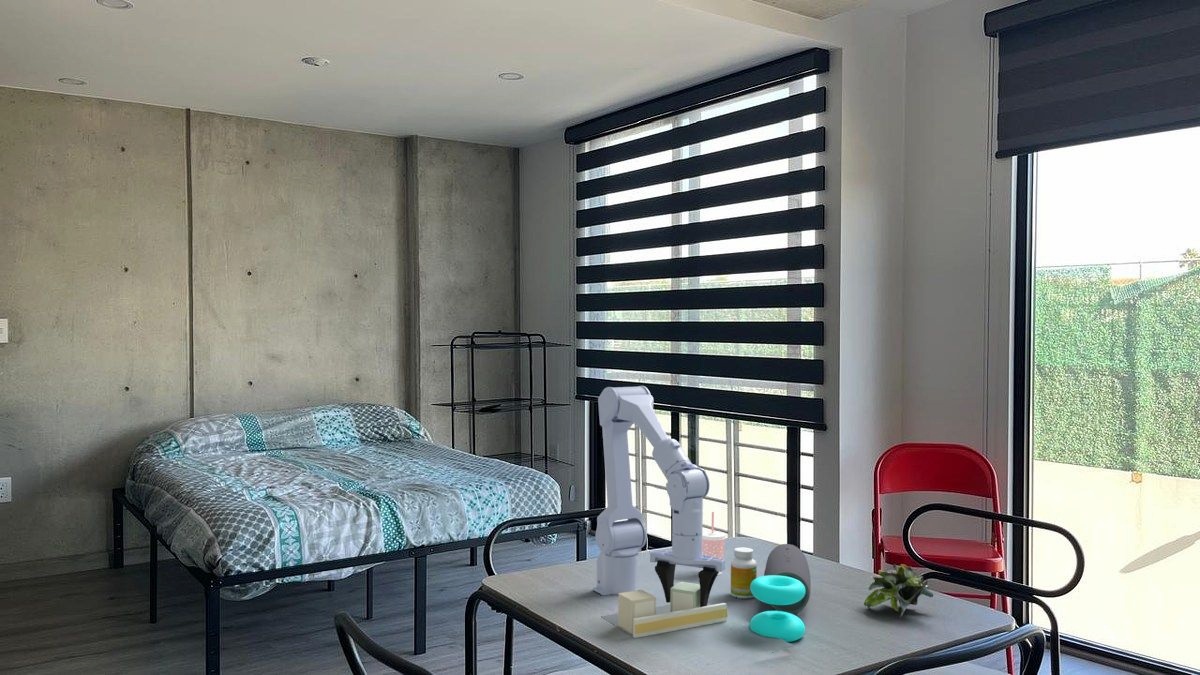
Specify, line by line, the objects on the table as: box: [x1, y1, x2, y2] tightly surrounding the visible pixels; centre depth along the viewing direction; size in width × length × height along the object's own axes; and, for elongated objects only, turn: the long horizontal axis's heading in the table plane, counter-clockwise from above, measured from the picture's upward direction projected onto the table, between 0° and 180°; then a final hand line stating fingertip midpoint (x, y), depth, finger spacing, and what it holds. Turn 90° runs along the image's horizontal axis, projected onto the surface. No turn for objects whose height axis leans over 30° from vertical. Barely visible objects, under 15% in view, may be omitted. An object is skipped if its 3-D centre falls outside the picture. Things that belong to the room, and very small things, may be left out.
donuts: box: [749, 575, 806, 643], centre depth 162 cm, size 10×10×10 cm
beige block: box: [617, 589, 657, 634], centre depth 162 cm, size 5×5×6 cm
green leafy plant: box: [863, 563, 934, 619], centre depth 175 cm, size 11×11×12 cm
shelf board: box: [600, 602, 728, 639], centre depth 167 cm, size 13×20×4 cm, turn 118°
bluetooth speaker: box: [763, 543, 812, 615], centre depth 181 cm, size 23×9×10 cm, turn 168°
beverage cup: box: [701, 511, 727, 576], centre depth 202 cm, size 6×6×14 cm
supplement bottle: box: [730, 546, 758, 600], centre depth 185 cm, size 5×5×10 cm
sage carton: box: [669, 581, 700, 612], centre depth 167 cm, size 5×5×6 cm
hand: (686, 603), depth 167 cm, fingers open, 6 cm apart
